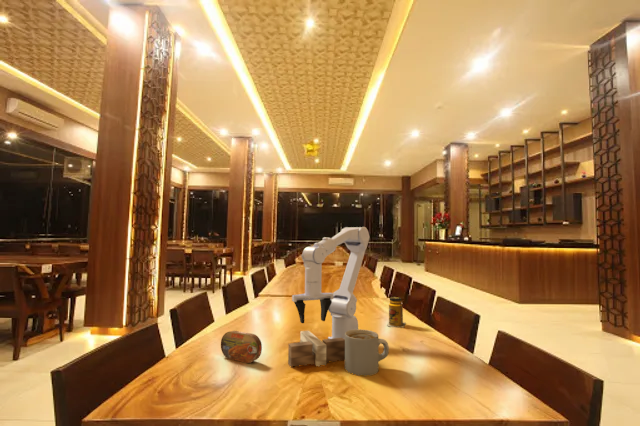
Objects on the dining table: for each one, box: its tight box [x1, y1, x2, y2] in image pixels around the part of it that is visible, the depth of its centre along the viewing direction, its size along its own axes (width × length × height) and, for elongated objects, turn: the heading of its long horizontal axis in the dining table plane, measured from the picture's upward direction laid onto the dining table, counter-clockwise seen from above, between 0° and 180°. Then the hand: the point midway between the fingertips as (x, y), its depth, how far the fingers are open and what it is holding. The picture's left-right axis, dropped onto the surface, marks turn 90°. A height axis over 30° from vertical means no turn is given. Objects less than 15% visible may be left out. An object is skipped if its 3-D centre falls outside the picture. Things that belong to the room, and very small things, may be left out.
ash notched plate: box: [299, 330, 327, 367], centre depth 105 cm, size 3×16×6 cm, turn 22°
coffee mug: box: [344, 328, 390, 377], centre depth 97 cm, size 13×10×10 cm
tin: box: [220, 330, 263, 364], centre depth 102 cm, size 15×3×8 cm, turn 62°
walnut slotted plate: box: [287, 338, 345, 368], centre depth 101 cm, size 18×3×6 cm, turn 112°
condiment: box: [386, 296, 406, 328], centre depth 145 cm, size 7×8×12 cm
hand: (312, 321), depth 111 cm, fingers open, 7 cm apart
